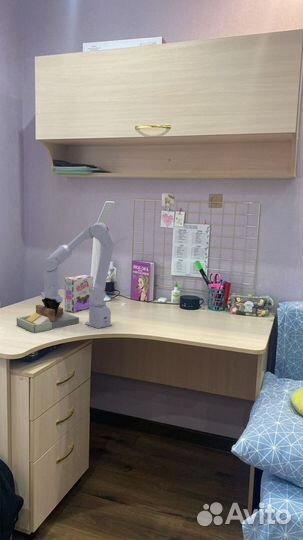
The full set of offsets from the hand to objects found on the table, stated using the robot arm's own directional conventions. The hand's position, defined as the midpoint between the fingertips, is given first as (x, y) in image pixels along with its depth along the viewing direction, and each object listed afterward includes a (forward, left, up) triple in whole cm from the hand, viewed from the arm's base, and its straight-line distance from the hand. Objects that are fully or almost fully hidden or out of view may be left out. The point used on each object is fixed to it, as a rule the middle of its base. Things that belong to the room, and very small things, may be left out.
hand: (51, 315), depth 185 cm
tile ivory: (-3, +6, -2) cm, 7 cm away
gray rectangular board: (0, +1, -4) cm, 4 cm away
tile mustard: (+3, +6, -2) cm, 7 cm away
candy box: (+13, -24, -4) cm, 27 cm away
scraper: (0, 0, 0) cm, 1 cm away
